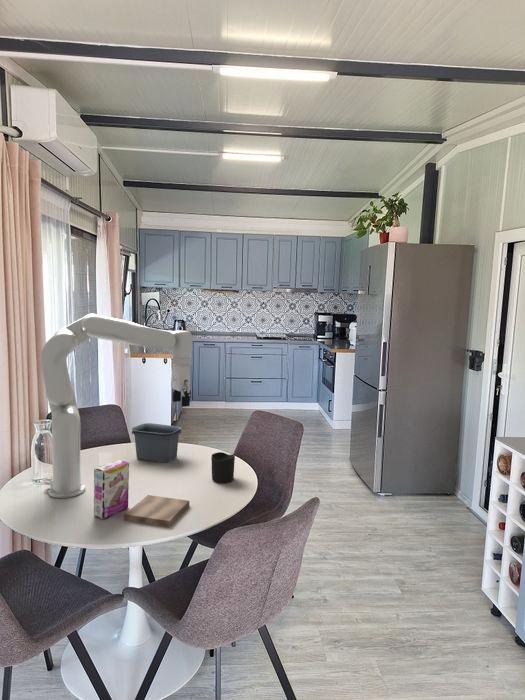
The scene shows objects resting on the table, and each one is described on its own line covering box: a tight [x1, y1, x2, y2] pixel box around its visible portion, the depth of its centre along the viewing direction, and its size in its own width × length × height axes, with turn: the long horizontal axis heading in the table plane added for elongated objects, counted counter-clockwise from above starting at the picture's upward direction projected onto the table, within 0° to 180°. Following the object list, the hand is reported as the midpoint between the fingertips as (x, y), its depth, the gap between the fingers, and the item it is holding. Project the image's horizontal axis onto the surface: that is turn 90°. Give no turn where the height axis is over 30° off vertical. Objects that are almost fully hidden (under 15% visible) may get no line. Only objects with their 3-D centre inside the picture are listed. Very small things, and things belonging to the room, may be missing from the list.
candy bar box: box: [93, 459, 130, 520], centre depth 156 cm, size 11×5×16 cm, turn 150°
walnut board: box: [123, 494, 190, 528], centre depth 157 cm, size 16×16×2 cm
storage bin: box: [130, 422, 183, 464], centre depth 212 cm, size 21×16×14 cm
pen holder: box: [210, 451, 236, 484], centre depth 188 cm, size 9×9×10 cm
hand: (181, 403), depth 187 cm, fingers open, 9 cm apart
